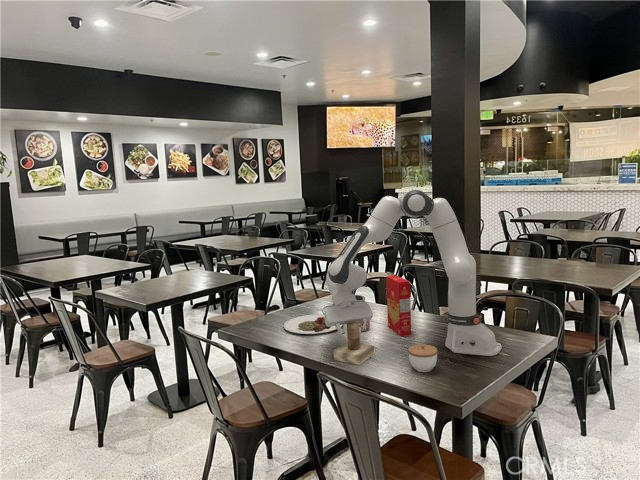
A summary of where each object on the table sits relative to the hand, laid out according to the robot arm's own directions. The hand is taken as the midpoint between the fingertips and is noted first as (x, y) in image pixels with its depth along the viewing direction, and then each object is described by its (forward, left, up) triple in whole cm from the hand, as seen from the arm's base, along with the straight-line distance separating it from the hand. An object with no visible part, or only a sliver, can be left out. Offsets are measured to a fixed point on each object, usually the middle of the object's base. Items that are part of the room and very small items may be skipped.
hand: (353, 331), depth 192 cm
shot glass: (+8, -13, -11) cm, 19 cm away
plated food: (+39, -26, -11) cm, 49 cm away
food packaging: (-2, -38, -11) cm, 40 cm away
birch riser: (0, 0, -11) cm, 11 cm away
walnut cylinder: (0, 0, -7) cm, 7 cm away
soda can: (+15, -32, -11) cm, 37 cm away
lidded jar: (-29, -2, -11) cm, 31 cm away
